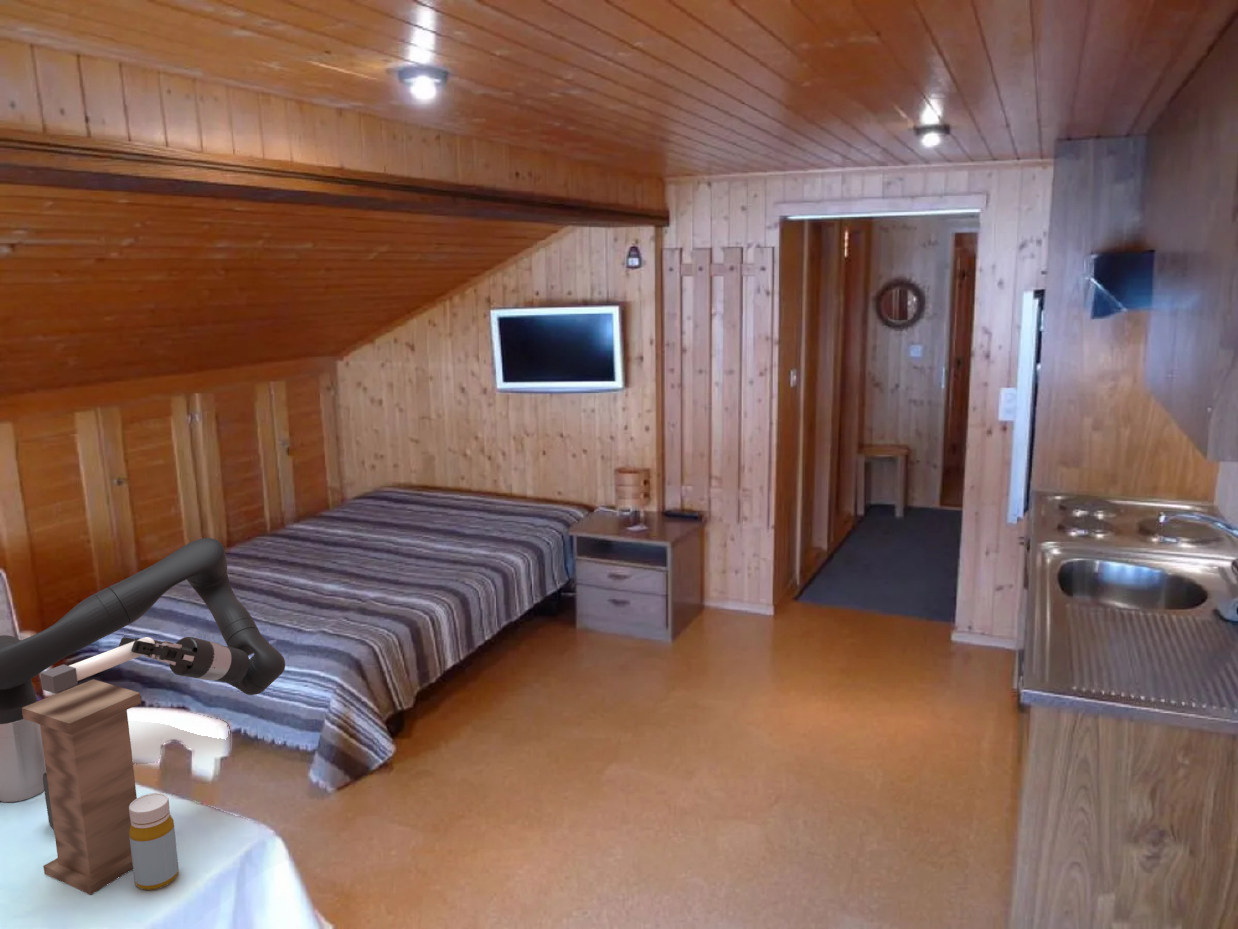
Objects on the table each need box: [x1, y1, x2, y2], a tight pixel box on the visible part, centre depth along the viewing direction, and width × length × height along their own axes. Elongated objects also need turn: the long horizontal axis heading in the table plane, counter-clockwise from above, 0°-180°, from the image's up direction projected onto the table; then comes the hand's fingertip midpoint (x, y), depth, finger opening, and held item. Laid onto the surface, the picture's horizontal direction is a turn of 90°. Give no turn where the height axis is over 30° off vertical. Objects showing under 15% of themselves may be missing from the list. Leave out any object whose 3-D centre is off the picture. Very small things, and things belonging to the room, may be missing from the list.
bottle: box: [129, 792, 180, 891], centre depth 161 cm, size 7×7×15 cm
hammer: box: [39, 636, 155, 694], centre depth 163 cm, size 20×3×3 cm, turn 153°
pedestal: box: [22, 678, 142, 896], centre depth 164 cm, size 13×13×32 cm
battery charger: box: [43, 773, 54, 830], centre depth 177 cm, size 7×4×11 cm, turn 48°
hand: (128, 644), depth 168 cm, fingers closed on hammer, 3 cm apart
